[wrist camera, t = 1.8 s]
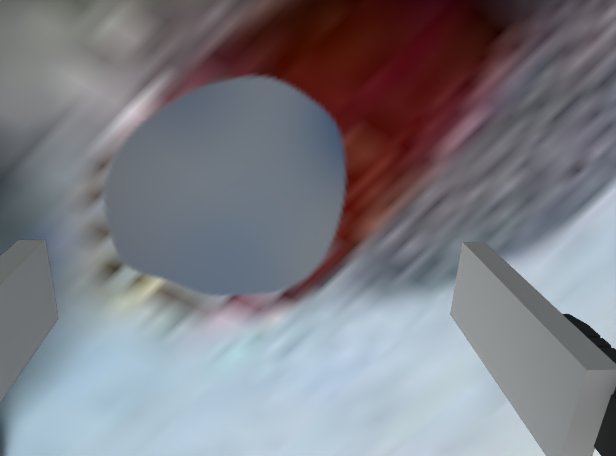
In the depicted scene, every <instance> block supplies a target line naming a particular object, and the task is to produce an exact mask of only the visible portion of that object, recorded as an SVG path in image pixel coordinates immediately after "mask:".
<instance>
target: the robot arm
mask: <svg viewBox="0 0 616 456" xmlns="http://www.w3.org/2000/svg"><path fill="white" fill-rule="evenodd" d="M450 315H451V316H452V318H453V319H454V321H455V322H456V324H457V325H458V327H459V328H460V330H461V331H462V333H463V334H464V336H465V337H466V338H467V340H468V341H469V343H470V344H471V346H472V347H473V349H474V350H475V352H476V353H477V355H478V356H479V358H480V359H481V361H482V362H483V364H484V365H485V367H486V368H487V369H488V371H489V372H490V374H491V375H492V377H493V378H494V380H495V381H496V383H497V384H498V386H499V387H500V389H501V390H502V392H503V393H504V395H505V396H506V397H507V399H508V400H509V402H510V403H511V405H512V406H513V408H514V409H515V411H516V412H517V414H518V415H519V417H520V418H521V420H522V421H523V423H524V424H525V425H526V427H527V428H528V430H529V431H530V433H531V434H532V436H533V437H534V439H535V440H536V442H537V443H538V445H539V446H540V448H541V449H542V451H543V452H544V454H545V455H546V456H592V455H593V452H594V449H595V448H596V450H597V451H598V452H599V453H600V455H601V456H616V349H614V348H611V345H610V344H609V343H608V342H607V341H605V340H604V339H603V338H600V335H599V334H598V333H596V332H595V331H594V330H593V329H592V328H591V327H590V326H589V325H587V324H586V323H584V322H582V321H580V320H579V319H577V318H575V317H573V316H571V315H570V314H562V313H560V312H559V311H558V310H557V309H556V308H555V307H554V306H553V305H552V304H551V303H550V302H549V301H548V300H546V299H545V298H544V297H543V296H542V295H541V294H540V293H539V292H538V291H537V290H536V289H535V288H534V287H533V286H531V285H530V284H529V283H528V282H527V281H526V280H525V279H524V278H523V277H522V276H521V275H520V274H519V273H517V272H516V271H515V270H514V269H513V268H512V267H511V266H510V265H509V264H508V263H507V262H506V261H505V260H503V259H502V258H501V257H500V256H499V255H498V254H497V253H496V252H495V251H494V250H493V249H492V248H491V247H490V246H488V245H487V244H486V243H485V242H463V244H462V250H461V255H460V261H459V267H458V272H457V278H456V284H455V289H454V295H453V301H452V306H451V312H450ZM57 320H58V313H57V307H56V301H55V295H54V288H53V282H52V276H51V270H50V264H49V258H48V252H47V246H46V240H18V241H17V242H16V243H15V244H13V245H12V246H11V247H10V248H9V249H8V250H7V251H5V252H4V253H3V254H2V255H1V256H0V402H1V400H2V399H3V397H4V396H5V395H6V393H7V392H8V390H9V389H10V387H11V386H12V385H13V383H14V382H15V380H16V379H17V377H18V376H19V374H20V373H21V372H22V370H23V369H24V367H25V366H26V364H27V363H28V361H29V360H30V359H31V357H32V356H33V354H34V353H35V351H36V350H37V349H38V347H39V346H40V344H41V343H42V341H43V340H44V338H45V337H46V336H47V334H48V333H49V331H50V330H51V328H52V327H53V325H54V324H55V323H56V321H57Z"/></svg>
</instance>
